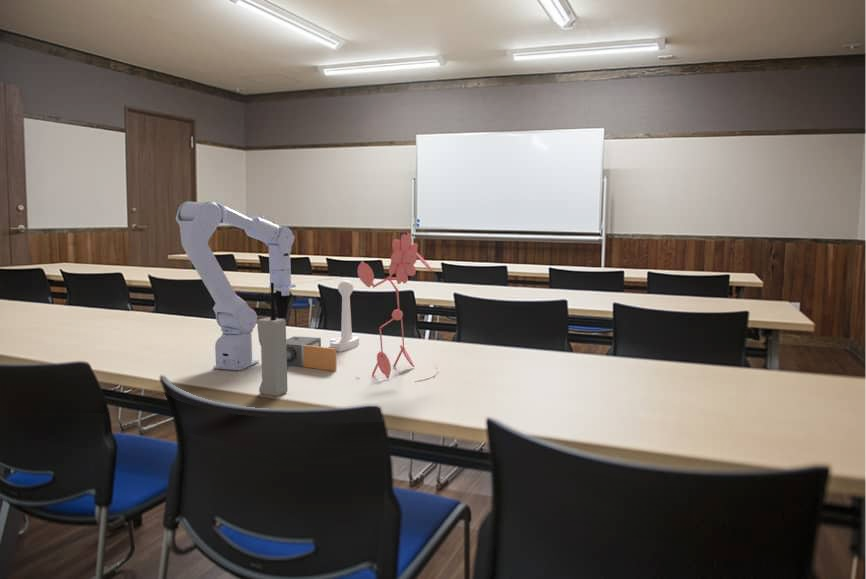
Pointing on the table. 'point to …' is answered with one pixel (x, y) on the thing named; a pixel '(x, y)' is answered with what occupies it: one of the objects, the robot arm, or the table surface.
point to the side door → (319, 357)
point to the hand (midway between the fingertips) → (281, 318)
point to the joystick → (345, 321)
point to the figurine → (403, 267)
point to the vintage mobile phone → (273, 353)
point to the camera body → (298, 348)
